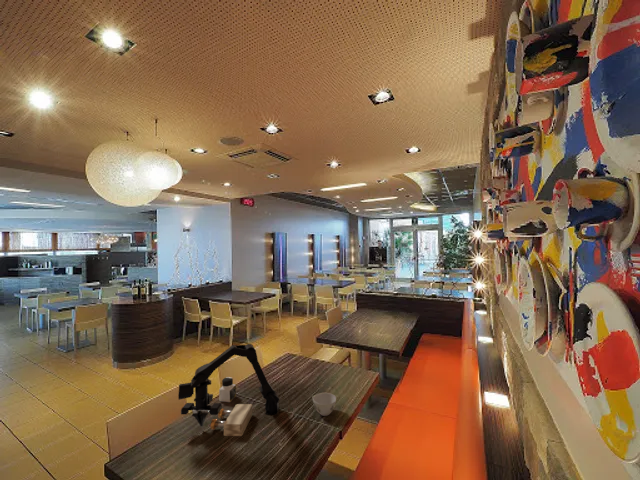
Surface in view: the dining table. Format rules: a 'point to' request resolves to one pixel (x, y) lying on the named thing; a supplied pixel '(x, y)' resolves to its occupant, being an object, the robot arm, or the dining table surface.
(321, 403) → the teacup
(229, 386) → the medicine bottle
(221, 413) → the knob inner
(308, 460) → the dining table surface
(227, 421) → the beech block
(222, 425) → the knob outer
